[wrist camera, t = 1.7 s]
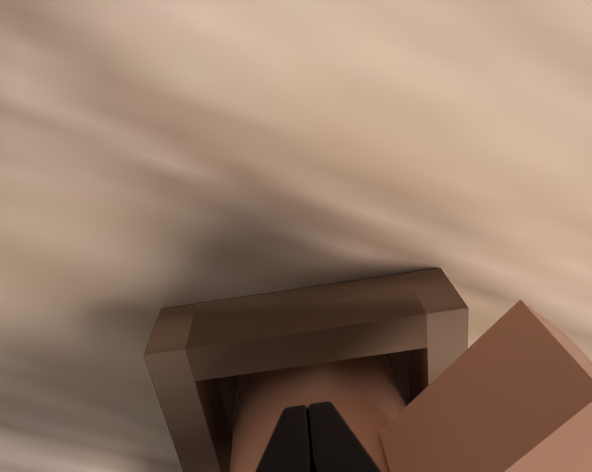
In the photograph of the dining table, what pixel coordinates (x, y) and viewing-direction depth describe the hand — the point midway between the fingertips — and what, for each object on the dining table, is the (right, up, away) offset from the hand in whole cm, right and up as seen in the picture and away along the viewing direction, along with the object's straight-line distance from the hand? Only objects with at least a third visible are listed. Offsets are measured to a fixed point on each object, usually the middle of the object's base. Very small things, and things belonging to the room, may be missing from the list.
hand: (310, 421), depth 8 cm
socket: (+1, -3, +9) cm, 10 cm away
